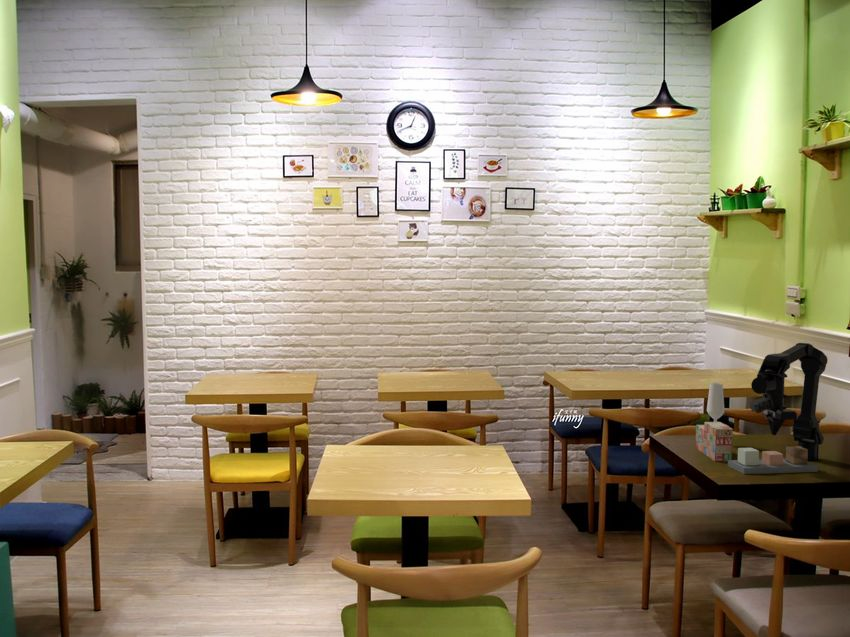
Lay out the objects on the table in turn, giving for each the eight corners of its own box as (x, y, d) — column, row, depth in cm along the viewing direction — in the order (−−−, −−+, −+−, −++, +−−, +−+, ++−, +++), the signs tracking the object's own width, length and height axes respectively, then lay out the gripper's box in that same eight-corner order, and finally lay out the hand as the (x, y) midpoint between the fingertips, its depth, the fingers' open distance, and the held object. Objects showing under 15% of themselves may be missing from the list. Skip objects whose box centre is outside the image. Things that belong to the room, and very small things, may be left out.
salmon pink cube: (774, 464, 277) (775, 450, 277) (782, 468, 272) (783, 454, 272) (761, 465, 277) (762, 451, 276) (769, 468, 272) (769, 454, 272)
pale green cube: (751, 461, 276) (751, 447, 276) (758, 465, 271) (759, 450, 271) (737, 461, 276) (738, 447, 275) (744, 465, 271) (745, 451, 270)
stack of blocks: (695, 448, 306) (695, 416, 305) (711, 448, 306) (711, 417, 305) (715, 461, 285) (715, 428, 284) (732, 461, 285) (733, 428, 284)
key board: (799, 463, 282) (799, 458, 282) (817, 471, 271) (817, 466, 271) (727, 465, 279) (727, 460, 278) (743, 474, 268) (743, 468, 268)
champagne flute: (719, 445, 309) (721, 385, 308) (703, 443, 314) (704, 383, 312) (726, 442, 314) (728, 383, 313) (709, 440, 319) (711, 381, 317)
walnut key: (798, 460, 278) (799, 446, 278) (807, 463, 273) (807, 449, 273) (785, 460, 278) (786, 446, 277) (793, 464, 273) (794, 449, 272)
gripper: (739, 387, 282) (738, 430, 283) (768, 396, 263) (766, 441, 264) (768, 386, 283) (767, 429, 284) (799, 395, 265) (797, 440, 266)
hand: (773, 435), depth 275 cm, fingers closed
